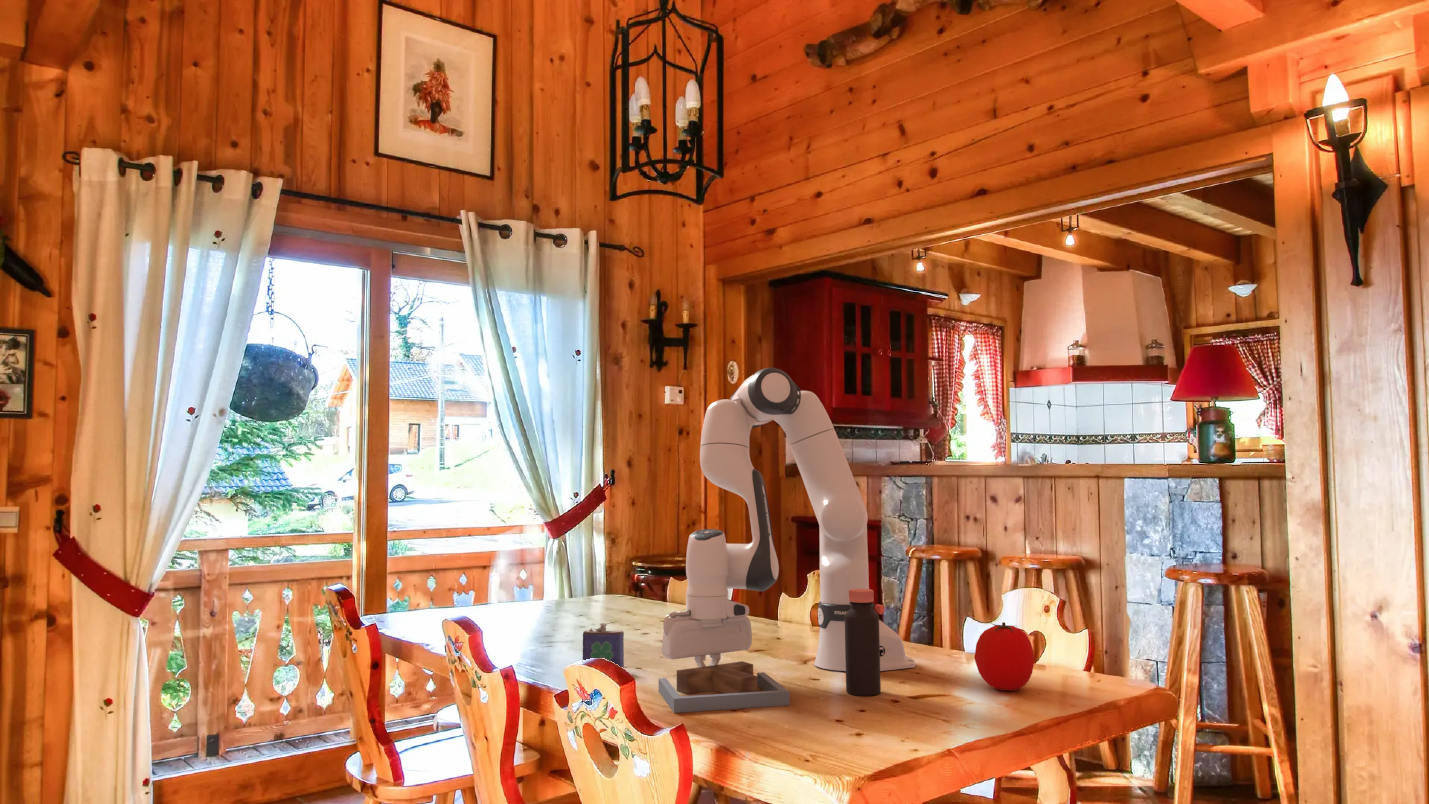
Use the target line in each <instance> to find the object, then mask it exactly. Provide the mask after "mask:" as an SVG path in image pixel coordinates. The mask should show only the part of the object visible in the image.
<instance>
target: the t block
mask: <svg viewBox="0 0 1429 804" xmlns="http://www.w3.org/2000/svg"><path fill="white" fill-rule="evenodd" d="M676 691H677V692H680V693H682V694H685V695H690V694H691V695H692V694H697V693H703V692H705V693H706V692H711V691H713V692H716V693H718V694H728V693H744V692H758V685H757V675H754V664H753V663H749V662H746V661H743V660H741V661H735V662H734V661H733V662H728V663H718V665H712V666H709V665H705V667H698V666H697V667H691V668H685V669H684V668H683V669H677V670H676Z"/></svg>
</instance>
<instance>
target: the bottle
mask: <svg viewBox="0 0 1429 804" xmlns="http://www.w3.org/2000/svg"><path fill="white" fill-rule="evenodd" d="M874 593H875V592H874V590H873V589H870V588H869V589H851V590H849V601H850V602H849V604H851V609H850V610H849V611H848V612H847V613H846V615H845V661H846V671H845V692H847V694H849V695H852V696H856V697H857V696H858V697H873V696H878V695H879V694H881V691H882V690H881V689H882V687H881V686H882V685H881V682H882V681H881V680H882V679H881V671H880V640H879V620H880V616H879V613H876V612H875V611H874V610H873V609H872V604H874Z"/></svg>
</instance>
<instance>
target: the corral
mask: <svg viewBox="0 0 1429 804" xmlns="http://www.w3.org/2000/svg"><path fill="white" fill-rule="evenodd" d="M756 676H757V687H759V688H760V689H761V690H762V691H757V692H744V693H728V694H722V693H715V694H713V693H712V694H701V695H700V694H699V695H697V694H695V695H684V696H681V695H680V694H679V693H678V691H677V689H675V688H674V686H673V685H672V684H671V682H669V680H668V679H667V677H663V678H662V677H660V678H658V692H659V694H660V695H661V697H662V698H663V700H664V701H665V702H666V704H667V705H668V706H669V708H670V709H671V710H672V713H675V714H676V713H691V712H692V713H693V712H703V711H704V712H707V711H708V712H709V711H710V712H711V711H721V710H736V709H737V710H739V709H753V708H768V707H781V706H782V707H783V706H790V703H791V702H790V701H791V700H790V699H791V698H790V690H788V689H787V688H785V687H784V686H783V685H782V684H780V682H778V681H776V680H774V679H773V678H772V677H771V676H770V675H768V674H767V673H766V672H764V671H763V672H757V673H756Z"/></svg>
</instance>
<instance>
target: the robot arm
mask: <svg viewBox="0 0 1429 804" xmlns="http://www.w3.org/2000/svg"><path fill="white" fill-rule="evenodd" d="M772 421H774V422H776V423H777V424H778V425H779V426H780V428H781V429H782V430H783V432H784V433H785V437H786V440H787V443H788V445H789V447H790V450H791V454H792V456H793V459H794V460H795V463H796V466H797V468H798V471H799V474H800V476H801V479H802V482H803V484H804V488H805V490H806V493H807V495H808V499H809V501H810V505H811V507H812V509H813V512H814V515H815V517H816V519H817V522H818V525H819V526H818V527H819V529H818V530H819V593H820V594H819V598H820V599H819V602H818V609H817V618H818V619H817V620H818V626H819V635H818V644H817V645H818V646H817V650H816V657H815V660H814V662H813V664H814V666H816V667H817V668H820V669H825V670H828V671H829V670H830V671H839V672H840V671H841V672H846V661H845V615H846V613H847V612H848V611H849V610H850V609H851V604H849V602H850V601H849V590H851V589H870V586H869V585H870V583H869V578H870V577H869V576H870V575H869V573H870V571H869V551H868V550H869V549H868V548H869V547H868V525H867V524H868V519H869V518H868V517H869V515H868V511H867V507H866V505H865V502H864V500H863V497H862V495H861V492H860V490H859V488H858V484H857V483H856V480H855V477H854V475H853V472H852V470H851V468H850V465H849V462H848V460H847V457H846V454H845V453H844V450H843V447H842V445H841V442H840V439H839V437H838V434H837V432H836V430H835V427H834V425H833V423H832V420H831V419H830V416H829V414H828V412H827V410H826V409H825V407H824V404H823V403H822V402H821V400H820V398H819V397H818V396H817V394H816V393H814V392H813V391H811V390H810V391H809V390H801V388H800V387H799V385H797V384H796V383H795V382H794V380H793V379H792V377H790V375H789V374H788V373H787V372H785V371H783V369H780V368H776V367H765V368H763V369H760V370H758V371H756V372H754V373H753V374H751V376H749V377H747V378H746V379H745V380H744V381H743V382H742V383H741V385H740V386H738V387H737V388H736V389H735V390H734V392H733V394H731V397H730V399H728V398H727V399H718V400H716V401H713V402H712V403H710V405H708V407H707V409H706V411H705V414H704V419H703V424H702V429H701V436H700V448H699V464H700V470H701V472H702V474H703V476H704V477H705V478H706V479H707V480H708V481H709V482H710V483H711V484H713V485H715V486H716V487H718V488H721V489H723V490H726V491H728V492H730V493H733V494H735V495H738V496H739V497H741V498H742V499H743V500H744V501H745V502H746V503H745V504H747V508H748V514H749V515H748V516H749V522H750V523H749V524H750V527H751V529H750V530H751V535H752V536H751V537H752V541H751V542H750V543H727V541H726V540H727V539H726V535H725V533H724V531H723V530H720V529H716V528H704V529H698V530H695V531H693V532H692V533H690V535H689V536H688V540H687V541H688V542H687V547H686V556H685V557H686V558H685V573H686V574H685V575H686V579H687V588H686V591H685V605H686V606H685V610H681V611H672V612H671V611H670V612H669V614H667V615H665V617H664V619H663V627H662V628H663V635H662V642H661V643H662V644H661V653H662V655H663V656H664V657H665V658H667V659H668V660H669V659H670V660H678V659H679V660H680V659H687V658H694V661H695V663H696V665H697V667H705V666H706V664H705V662H704V661H706V660H707V658H706V656H709V658H710V659H711V660H710V662H709V665H708V666H712V665H719V664H720V661H721V658H722V657H721V655H722V654H726V653H733V652H741V651H749V650H750V648H751V646H752V644H753V633H752V632H753V631H752V623H751V620H750V618H749V617H748V616H749V614H750V607H749V605H746V604H743V603H741V602H736V601H735V600H732V599H729V591H728V589H731V590H732V589H736V590H737V589H738V590H739V589H740V590H748V591H756V592H765V591H767V590H768V589H770V588H771V587H772V586H773V585H774V584H775V583H776V582H777V581H778V578H779V572H780V571H779V570H780V566H779V560H778V559H779V558H778V556H777V551H776V547H775V543H774V534H773V528H772V521H771V514H770V507H769V506H770V505H769V502H768V501H769V500H768V495H767V489H766V488H767V487H766V484H765V480H764V477H763V475H762V473H761V472H760V471H759V470H757V469H755V468H754V466H753V464H752V461H751V456H750V455H751V454H750V437H751V433H752V432H751V431H752V429H754V428H755V429H756V428H759V427H762V426H764V425H766V424H767V423H770V422H772ZM872 609H873V610H874V611H875V612H876V613H877V614H878V615H883V614H884V612H885V611H886V607H885V606H884V605H883V604H879V603H877V604H876V603H873V604H872ZM879 640H880V672H883V671H891V670H892V671H894V670H901V669H911V668H912V669H913V668H915V667H916V661H915V660H914V659H913V658H912V657H909V656H907V655H906V652H905V647H904V646H905V645H904V643H903V640H902V638H901V636H900V635H899V634H898V633H897V632H895V631H894V630H893V629H892V628H891V627H889V626H888V625H886V623H884V622H883V621H882V620H881V619H879Z"/></svg>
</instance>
